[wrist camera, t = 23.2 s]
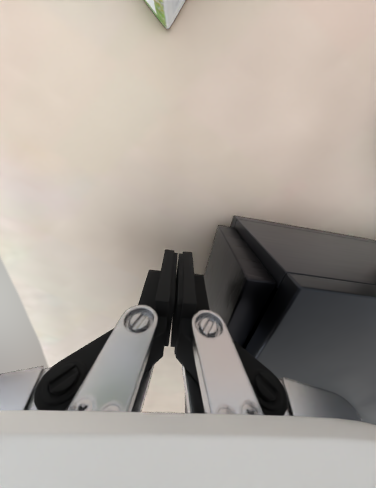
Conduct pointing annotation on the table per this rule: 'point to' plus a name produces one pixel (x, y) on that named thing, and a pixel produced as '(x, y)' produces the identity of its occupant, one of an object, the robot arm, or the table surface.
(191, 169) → the table surface
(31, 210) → the table surface
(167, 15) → the syrup box
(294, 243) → the cabinet
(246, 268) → the drawer
